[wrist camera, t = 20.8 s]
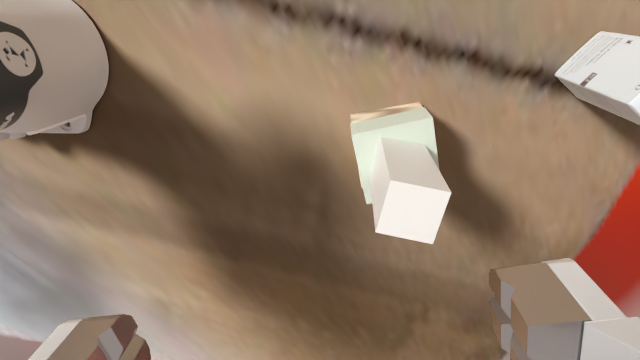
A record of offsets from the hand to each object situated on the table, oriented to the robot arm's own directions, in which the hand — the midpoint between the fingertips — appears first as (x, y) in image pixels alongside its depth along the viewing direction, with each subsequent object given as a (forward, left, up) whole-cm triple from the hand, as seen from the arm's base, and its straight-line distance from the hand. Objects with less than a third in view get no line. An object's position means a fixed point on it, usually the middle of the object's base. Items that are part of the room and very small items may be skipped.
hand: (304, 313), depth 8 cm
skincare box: (+27, -5, -37) cm, 46 cm away
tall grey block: (+5, -9, -29) cm, 31 cm away
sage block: (+5, -9, -33) cm, 35 cm away
